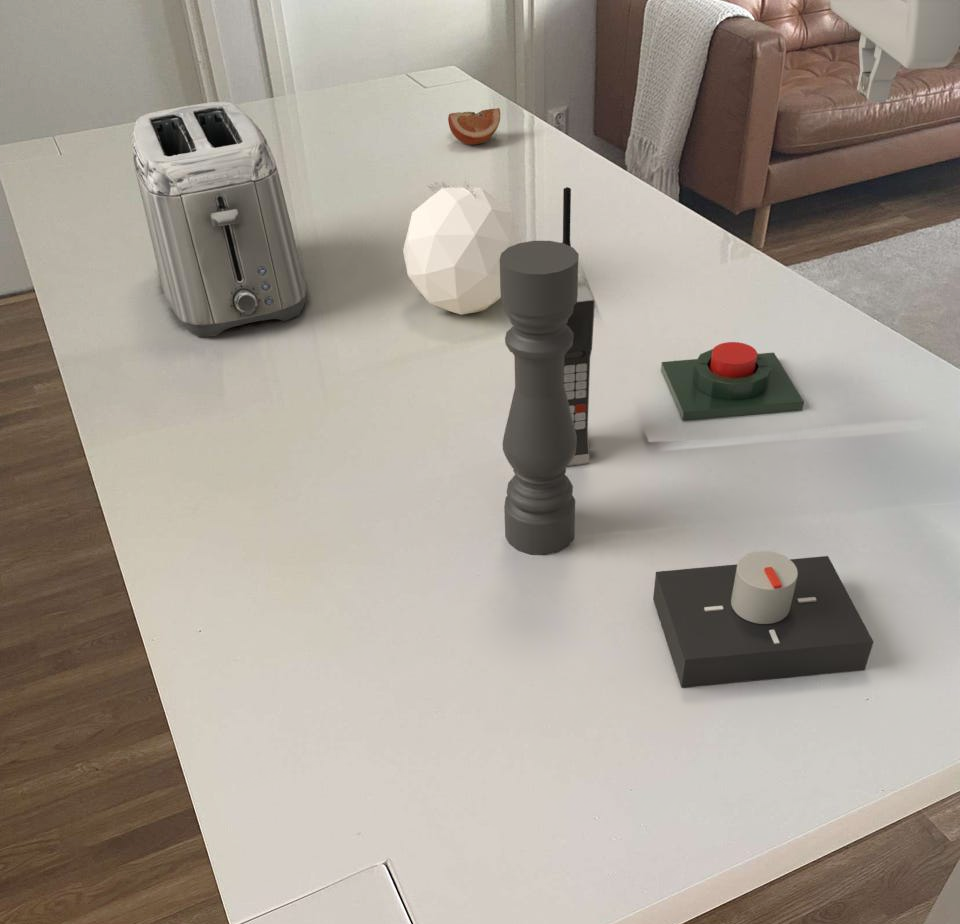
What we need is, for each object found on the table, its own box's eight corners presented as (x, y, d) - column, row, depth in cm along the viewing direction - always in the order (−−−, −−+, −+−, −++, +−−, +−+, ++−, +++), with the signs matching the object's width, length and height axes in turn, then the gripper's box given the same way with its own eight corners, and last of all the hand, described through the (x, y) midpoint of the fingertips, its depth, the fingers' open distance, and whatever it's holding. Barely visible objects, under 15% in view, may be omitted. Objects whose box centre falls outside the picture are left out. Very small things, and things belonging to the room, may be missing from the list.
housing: (770, 370, 107) (776, 336, 105) (800, 421, 100) (807, 385, 98) (659, 380, 107) (662, 345, 104) (681, 431, 100) (685, 395, 97)
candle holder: (579, 551, 87) (588, 272, 70) (508, 557, 87) (499, 279, 70) (569, 508, 92) (575, 236, 74) (501, 514, 91) (492, 242, 74)
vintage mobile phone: (551, 470, 96) (552, 203, 79) (540, 441, 100) (539, 181, 82) (589, 465, 96) (598, 198, 79) (577, 437, 100) (584, 176, 83)
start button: (747, 355, 103) (750, 340, 102) (760, 377, 100) (762, 361, 98) (705, 359, 103) (707, 343, 101) (716, 381, 100) (718, 365, 98)
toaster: (179, 354, 116) (133, 183, 103) (154, 255, 136) (112, 101, 123) (322, 326, 119) (294, 157, 106) (276, 233, 140) (248, 82, 126)
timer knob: (723, 589, 78) (729, 551, 76) (777, 582, 79) (786, 544, 76) (741, 627, 75) (749, 589, 73) (798, 620, 76) (807, 582, 73)
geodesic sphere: (353, 258, 118) (400, 171, 106) (429, 217, 126) (481, 131, 114) (438, 356, 119) (494, 281, 107) (508, 309, 127) (567, 233, 115)
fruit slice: (496, 134, 165) (494, 101, 161) (506, 147, 160) (505, 113, 157) (446, 140, 164) (444, 107, 160) (455, 154, 159) (453, 120, 155)
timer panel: (820, 583, 83) (828, 553, 81) (864, 670, 76) (874, 640, 74) (652, 599, 82) (655, 569, 80) (681, 688, 75) (685, 658, 73)
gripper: (829, -117, 85) (800, 65, 95) (921, -71, 70) (876, 139, 80) (903, -122, 85) (866, 61, 95) (1010, -77, 71) (954, 133, 80)
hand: (871, 97), depth 87 cm, fingers closed
